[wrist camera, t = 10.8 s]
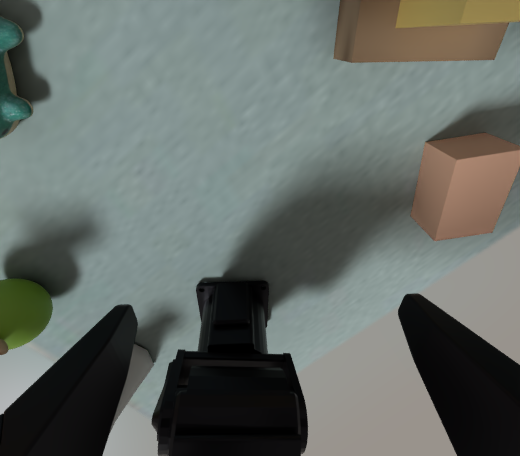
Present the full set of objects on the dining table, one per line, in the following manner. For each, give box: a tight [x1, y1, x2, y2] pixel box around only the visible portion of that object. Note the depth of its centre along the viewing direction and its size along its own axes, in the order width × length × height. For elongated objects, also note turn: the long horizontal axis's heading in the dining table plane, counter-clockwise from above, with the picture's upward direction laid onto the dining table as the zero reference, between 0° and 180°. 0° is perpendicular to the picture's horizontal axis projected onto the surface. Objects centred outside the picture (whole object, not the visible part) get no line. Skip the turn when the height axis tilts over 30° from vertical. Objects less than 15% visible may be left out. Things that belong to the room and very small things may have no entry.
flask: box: [110, 344, 154, 431], centre depth 27 cm, size 7×7×10 cm
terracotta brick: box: [411, 133, 520, 241], centre depth 19 cm, size 6×4×4 cm, turn 8°
